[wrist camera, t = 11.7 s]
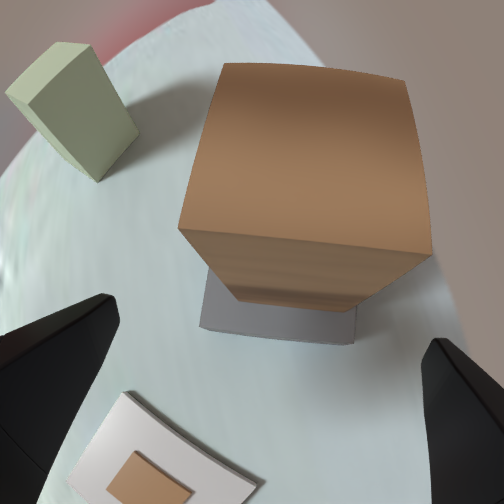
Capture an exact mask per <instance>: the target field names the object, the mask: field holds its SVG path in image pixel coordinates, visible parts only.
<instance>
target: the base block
mask: <svg viewBox="0 0 504 504" xmlns="http://www.w3.org/2000/svg"><path fill="white" fill-rule="evenodd" d="M356 310H357V305H356V306H354V307H353V308H351V309H349V310H348V311H346V312H344V313H343V312H332V311H321V310H311V309H301V308H291V307H282V306H273V305H265V304H256V303H248V302H240V301H238V300H237V299H236V298H235V297H234V296H233V294H232V293H231V292H230V291H229V290H228V289H227V287H226V286H225V285H224V284H223V283H222V282H221V280H220V279H219V278H218V277H217V276H216V274H215V273H214V272H213V271H212V270H211V268H210V267H209V270H208V276H207V281H206V287H205V293H204V300H203V306H202V312H201V318H200V325H199V327H201V328H204V329H207V330H209V331H216V332H222V333H229V334H237V335H244V336H252V337H260V338H269V339H277V340H287V341H297V342H308V343H319V344H332V345H349V344H354V336H355V324H356Z"/></svg>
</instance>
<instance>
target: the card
mask: <svg viewBox="0 0 504 504" xmlns="http://www.w3.org/2000/svg"><path fill="white" fill-rule="evenodd" d="M66 482H67V483H68V484H69V485H70V486H71V487H72V488H73V489H74V490H75V491H76V492H77V493H78V494H79V495H80V496H81V497H82V498H83V499H84V500H86V501H87V502H88V503H89V504H241V503H242V502H243V501H244V500H245V499H246V498H247V497H248V496H249V495H250V494H251V493H252V491H253V490H254V489H255V488H256V486H257V483H255V482H253V481H252V480H250V479H248V478H246V477H245V476H243V475H241V474H239V473H238V472H236V471H234V470H233V469H231V468H229V467H228V466H226V465H224V464H223V463H221V462H220V461H218V460H217V459H215V458H213V457H212V456H210V455H209V454H207V453H206V452H204V451H203V450H201V449H200V448H198V447H197V446H195V445H194V444H193V443H191V442H190V441H188V440H187V439H186V438H184V437H183V436H181V435H180V434H179V433H177V432H176V431H175V430H173V429H172V428H171V427H169V426H168V425H167V424H165V423H164V422H163V421H161V420H160V419H159V418H158V417H156V416H155V415H154V414H153V413H151V412H150V411H149V410H148V409H147V408H145V407H144V406H143V405H142V404H140V403H139V402H138V401H137V400H136V399H135V398H133V397H132V396H131V395H130V394H129V393H128V392H127V391H126V392H122V393H121V395H120V396H119V398H118V399H117V401H116V402H115V404H114V405H113V407H112V408H111V410H110V412H109V413H108V415H107V416H106V418H105V419H104V421H103V422H102V424H101V425H100V427H99V429H98V430H97V432H96V433H95V435H94V436H93V438H92V440H91V441H90V443H89V444H88V446H87V448H86V449H85V451H84V452H83V454H82V455H81V457H80V459H79V460H78V462H77V464H76V465H75V467H74V468H73V470H72V472H71V473H70V475H69V476H68V478H67V480H66Z"/></svg>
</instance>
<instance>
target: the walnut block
mask: <svg viewBox="0 0 504 504" xmlns="http://www.w3.org/2000/svg"><path fill="white" fill-rule="evenodd" d="M178 229H179V231H180V232H181V233H182V234H183V236H184V237H185V238H186V239H187V241H188V242H189V243H190V244H191V245H192V247H193V248H194V249H195V250H196V251H197V253H198V254H199V255H200V256H201V258H202V259H203V260H204V261H205V262H206V264H207V265H208V266H209V267H210V268H211V270H212V271H213V272H214V273H215V274H216V276H217V277H218V278H219V279H220V280H221V282H222V283H223V284H224V285H225V286H226V287H227V289H228V290H229V291H230V292H231V293H232V294H233V296H234V297H235V298H236V299H237V300H238V301H240V302H248V303H256V304H265V305H273V306H282V307H291V308H301V309H311V310H321V311H332V312H343V313H344V312H346V311H348V310H349V309H351V308H353V307H354V306H356V305H357V304H359V303H361V302H362V301H364V300H366V299H367V298H369V297H370V296H372V295H373V294H375V293H377V292H378V291H380V290H381V289H383V288H384V287H386V286H387V285H389V284H390V283H392V282H393V281H395V280H397V279H398V278H399V277H401V276H402V275H404V274H405V273H407V272H408V271H410V270H411V269H413V268H414V267H416V266H417V265H418V264H420V263H421V262H423V261H424V260H426V259H427V258H428V257H430V256H431V255H432V240H431V227H430V215H429V205H428V196H427V188H426V181H425V174H424V167H423V161H422V155H421V150H420V144H419V139H418V135H417V129H416V125H415V121H414V116H413V112H412V107H411V104H410V100H409V96H408V92H407V88H406V85H405V81H403V80H398V79H393V78H389V77H384V76H379V75H373V74H368V73H362V72H356V71H348V70H342V69H333V68H326V67H316V66H305V65H292V64H273V63H224V65H223V68H222V71H221V74H220V77H219V80H218V83H217V86H216V89H215V93H214V96H213V99H212V102H211V105H210V108H209V112H208V115H207V118H206V122H205V125H204V128H203V132H202V135H201V139H200V142H199V146H198V149H197V153H196V157H195V160H194V164H193V168H192V171H191V175H190V179H189V183H188V187H187V191H186V195H185V199H184V203H183V207H182V211H181V215H180V220H179V224H178Z"/></svg>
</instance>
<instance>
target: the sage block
mask: <svg viewBox="0 0 504 504" xmlns="http://www.w3.org/2000/svg"><path fill="white" fill-rule="evenodd" d="M5 94H6V95H7V96H8V97H9V98H10V100H11V101H12V102H13V103H14V104H15V105H16V107H17V108H18V109H19V110H20V111H21V112H22V113H23V115H24V116H25V117H26V118H27V119H28V120H29V121H30V123H31V124H32V125H33V126H34V127H35V128H36V129H37V130H38V131H39V133H40V134H41V135H42V136H43V137H44V138H45V139H46V140H47V141H48V142H49V144H50V145H51V146H52V147H53V148H54V149H55V150H56V151H57V152H58V153H59V154H60V155H61V156H62V157H63V159H64V160H65V161H67V162H68V163H69V164H71V165H72V166H74V167H75V168H76V169H78V170H79V171H81V172H82V173H83V174H85V175H86V176H88V177H89V178H91V179H92V180H93V181H95V182H96V183H98V182H99V181H100V179H101V178H102V177H103V176H104V175H105V173H106V172H107V171H108V170H109V169H110V167H111V166H112V165H113V164H114V163H115V161H116V160H117V159H118V158H119V157H120V156H121V154H122V153H123V152H124V151H125V150H126V149H127V148H128V147H129V145H130V144H131V143H132V142H133V141H134V140H135V139H136V138H137V137H138V136H139V134H140V133H139V131H138V129H137V127H136V126H135V124H134V122H133V120H132V119H131V117H130V115H129V113H128V112H127V110H126V108H125V106H124V105H123V103H122V101H121V99H120V97H119V96H118V94H117V92H116V90H115V88H114V87H113V85H112V83H111V81H110V79H109V78H108V76H107V74H106V72H105V70H104V68H103V67H102V65H101V63H100V61H99V59H98V58H97V56H96V54H95V52H94V50H93V48H92V47H91V45H88V44H79V43H67V42H56V43H55V44H54V45H52V46H51V47H50V48H49V49H48V50H47V51H46V52H45V53H44V54H42V55H41V56H40V57H39V58H38V59H37V60H36V61H35V62H34V63H33V64H32V65H31V66H29V67H28V69H27V70H26V71H25V72H23V74H22V75H20V76H19V77H18V79H17V80H16V81H15V82H14V83H13V84H12V85H11V86H10V87H9V88H8V89H7V90H6V91H5Z"/></svg>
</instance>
